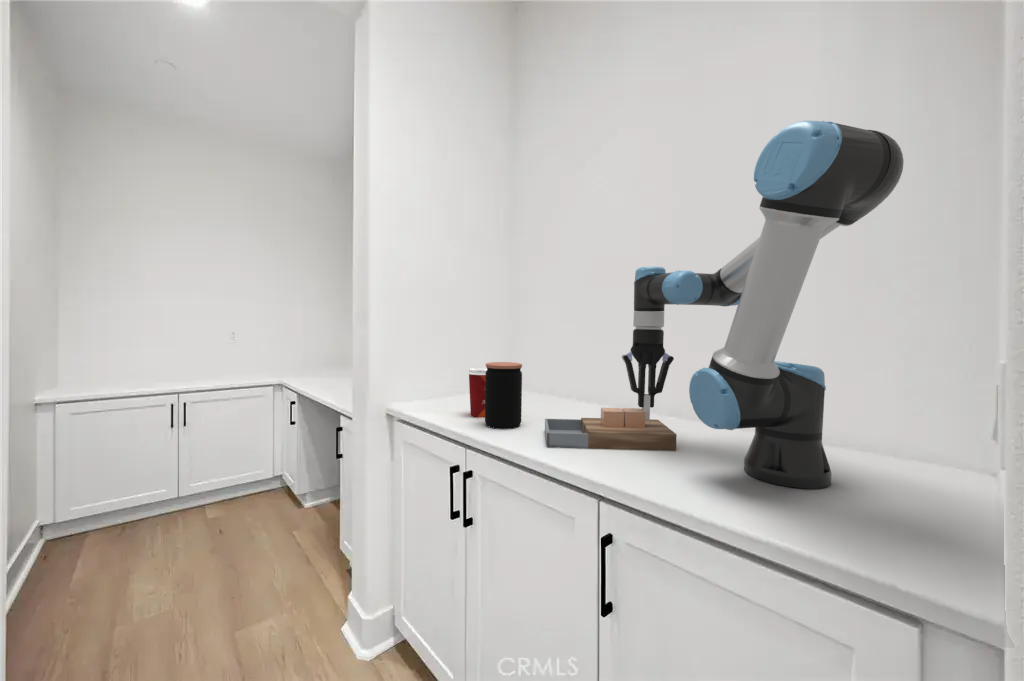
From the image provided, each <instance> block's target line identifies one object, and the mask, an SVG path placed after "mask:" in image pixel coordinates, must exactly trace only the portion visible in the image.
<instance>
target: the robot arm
mask: <svg viewBox="0 0 1024 681" xmlns="http://www.w3.org/2000/svg"><path fill="white" fill-rule="evenodd" d="M755 163H756V164H755V166H754V170H753V181H754V183H755V184H754V187H755V189H756V192H758V194H759V195H761V197H762V198H761V200H760V204H759V208H758V209H759V210H760V212H761V213H762V214H763V217H764V219H765V221H764V223H763V227H762V229H761V233H760V236H759V237H758V238H756V239H755V240H754V241H753V242H752V243H750V244H749V245H748V246H747V247H746V248H744V249H743V250H742V251H741V252H739V253H738V254H737V255H736V256H735V257H733V258H732V259H731V260H729V261H728V262H727V263H726V264H725V265H724V266H722V267H721V268H720V269H718V270H717V271H716V272H714V273H702V272H701V273H700V272H699V273H698V272H695V271H692V270H675V271H672V272H667V273H666V268H664V267H663V266H646V267H645V266H643V267H639V268H637V269H636V270H635V273H634V274H635V275H634V282H633V286H634V287H633V328H634V329H633V330H632V346H631V347H630V350H629V352H628V353H625V354H622V355H621V358H622V361H623V363H625V368H626V372H627V377H628V382H629V386H630V390H631V391H632V392H633V393H635V394H637V405H638V407H639V408H641V409H642V410H643V411H644V412H645V421H650V419H651V417H650V416H651V408H654V406H655V396H656V395H657V394H661V393H662V392H663V389H664V386H665V383H666V379H667V375H668V373H669V368H670V365H671V364H672V362H673V361H674V360H675V359H674V356H672V355H669V354H668V353H667V352H666V349H665V348H664V336H665V333H664V332H665V331H664V329H662V328H664V327H665V305H675V306H676V305H678V306H679V305H683V306H684V305H685V306H687V305H688V306H718V307H719V306H720V307H731V306H737V307H736V310H735V313H734V317H733V319H732V323H731V325H730V328H729V331H728V334H727V337H726V342H725V344H724V347H722V348H720V349H717V350H714V352H713V353H712V356H711V360H710V362H709V366H708V367H702V368H699V370H697V371H695V372H694V373H693V374H692V376H691V378H690V381H689V386H688V387H689V388H688V393H689V400H690V403H691V406H692V409H693V411H694V412H695V415H696V416H697V417H698V419H699V420H700V421H701V422H702V423H703V424H704V425H705V426H707V427H709V428H711V429H715V430H728V431H734V430H737V429H753V428H754V429H755V430H754V434H753V435H754V436H753V438H752V441H751V443H750V445H749V447H748V450H747V452H746V454H745V456H744V460H743V461H744V463H743V464H744V465H743V470H744V472H746V474H748V475H749V476H751V477H753V478H756V479H758V480H760V481H764V482H766V483H770V484H774V485H779V486H784V487H789V488H796V489H808V490H809V489H810V490H811V489H813V490H814V489H823V488H827V487H829V486H831V484H832V470H831V467H830V464H829V463H830V462H829V461H828V457H827V454H826V451H825V448H824V445H823V430H824V429H823V428H824V409H825V396H826V395H825V392H826V390H827V387H826V385H825V383H826V381H825V380H826V379H825V372H824V371H823V370H822V368H820V367H818V366H814V365H808V364H807V365H806V364H801V363H800V364H799V363H794V362H793V363H792V362H786V361H778V360H777V361H776V357H777V355H778V352H779V349H780V347H781V344H782V341H783V338H784V335H785V333H786V331H787V328H788V325H789V323H790V320H791V317H792V314H793V313H794V309H795V306H796V303H797V301H798V299H799V296H800V293H801V291H802V288H803V285H804V283H805V280H806V277H807V275H808V273H809V268H810V267H811V264H812V262H813V258H814V257H815V253H816V251H817V248H818V245H819V243H820V241H821V239H823V238H824V237H825V236H827V235H828V234H830V233H831V232H833V231H834V230H836V229H837V228H839V227H840V226H842V227H849V226H852V225H853V224H855V223H856V222H857V221H859V220H860V219H862V218H864V217H865V216H866V215H868V214H869V213H871V212H872V211H874V210H875V209H876V208H877V207H878V206H879V205H881V204H882V203H883V202H884V201H885V200H886V199H887V198H889V196H890V195H891V193H892V192H893V191H894V190H895V188H896V187H897V185H898V184H899V182H900V179H901V177H902V174H903V169H904V154H903V152H902V149H901V147H900V146H899V144H898V142H897V141H896V140H895V139H894V138H892V137H891V136H890V135H889V134H886V133H885V132H882V131H878V130H873V129H865V128H860V127H855V126H851V125H847V124H841V123H836V122H832V121H825V120H820V121H819V120H801V121H797V122H794V123H791V124H789V125H787V126H786V127H784V128H782V129H781V130H780V131H779V132H778V133H777V134H776V135H774V136H772V137H771V139H769V141H768V142H767V144H766V145H765V146H764V147H763V149H762V150H761V152H760V155H759V156H758V158H757V160H756V162H755ZM633 358H634V359H635V360H636V363H637V364H638V365H637V367H638V373H637V374H638V376H637V378H638V379H637V381H636V376H635V370H634V367H633V366H634V365H633V362H632V361H633ZM661 359H662V363H661V366H660V370H659V373H658V378H657V381H656V372H657V371H656V370H657V364H658V362H659V361H660V360H661ZM647 366H648V377H647V378H648V379H647V393H645V392H646V391H645V390H646V370H647Z"/></svg>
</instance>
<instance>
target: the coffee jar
mask: <svg viewBox="0 0 1024 681" xmlns="http://www.w3.org/2000/svg"><path fill="white" fill-rule="evenodd" d="M522 367H523V364H522V363H521V362H512V361H511V362H510V361H496V362H495V361H494V362H493V361H491V362H486V363H485V368H487V371H486V381H485V418H484V423H485V424H486V425H488V426H490V427H489V428H491V427H494V428H493V429H496V428H511V429H514V427H516V428H518V427H519V426H520V425H521V423H522V403H523V402H522V399H523V398H522V397H523V395H522V394H523V393H522V392H523V373H522V371H521V369H522ZM488 426H487V427H488ZM517 426H518V427H517Z"/></svg>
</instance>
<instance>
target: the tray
mask: <svg viewBox="0 0 1024 681" xmlns="http://www.w3.org/2000/svg"><path fill="white" fill-rule="evenodd" d="M544 436H545V444H546V447H547V448H556V447H564V448H563V449H589V448H588V433H582V431H581V418H579V419H577V418H576V419H573V418H572V419H570V418H544Z"/></svg>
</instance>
